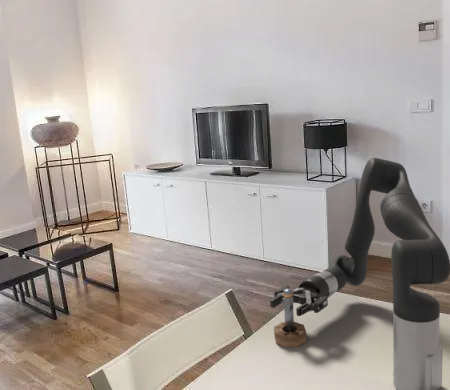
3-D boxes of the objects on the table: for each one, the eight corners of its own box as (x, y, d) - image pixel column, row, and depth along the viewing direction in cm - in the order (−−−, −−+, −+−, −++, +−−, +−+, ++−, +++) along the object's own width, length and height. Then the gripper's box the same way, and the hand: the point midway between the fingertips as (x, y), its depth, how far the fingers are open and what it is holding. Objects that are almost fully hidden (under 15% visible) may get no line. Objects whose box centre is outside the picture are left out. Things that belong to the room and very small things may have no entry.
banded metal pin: (297, 338, 131) (294, 289, 128) (291, 342, 130) (288, 292, 127) (289, 335, 133) (286, 287, 130) (283, 339, 131) (280, 290, 128)
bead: (311, 337, 131) (311, 327, 131) (293, 350, 126) (293, 339, 125) (287, 328, 137) (286, 319, 136) (269, 340, 131) (268, 330, 131)
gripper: (297, 270, 143) (262, 288, 132) (340, 280, 134) (306, 301, 122) (298, 294, 145) (263, 314, 134) (341, 306, 135) (307, 329, 124)
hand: (284, 308), depth 128 cm, fingers open, 8 cm apart
